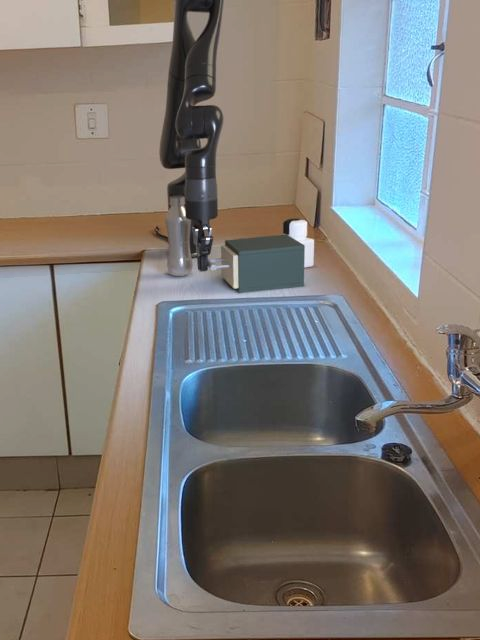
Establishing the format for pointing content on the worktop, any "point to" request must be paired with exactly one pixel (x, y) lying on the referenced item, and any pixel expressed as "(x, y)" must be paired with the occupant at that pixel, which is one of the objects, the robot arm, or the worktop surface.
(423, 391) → the worktop surface
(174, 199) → the silver metal bottle
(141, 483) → the worktop surface
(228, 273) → the drawer
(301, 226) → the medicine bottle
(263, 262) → the cabinet
